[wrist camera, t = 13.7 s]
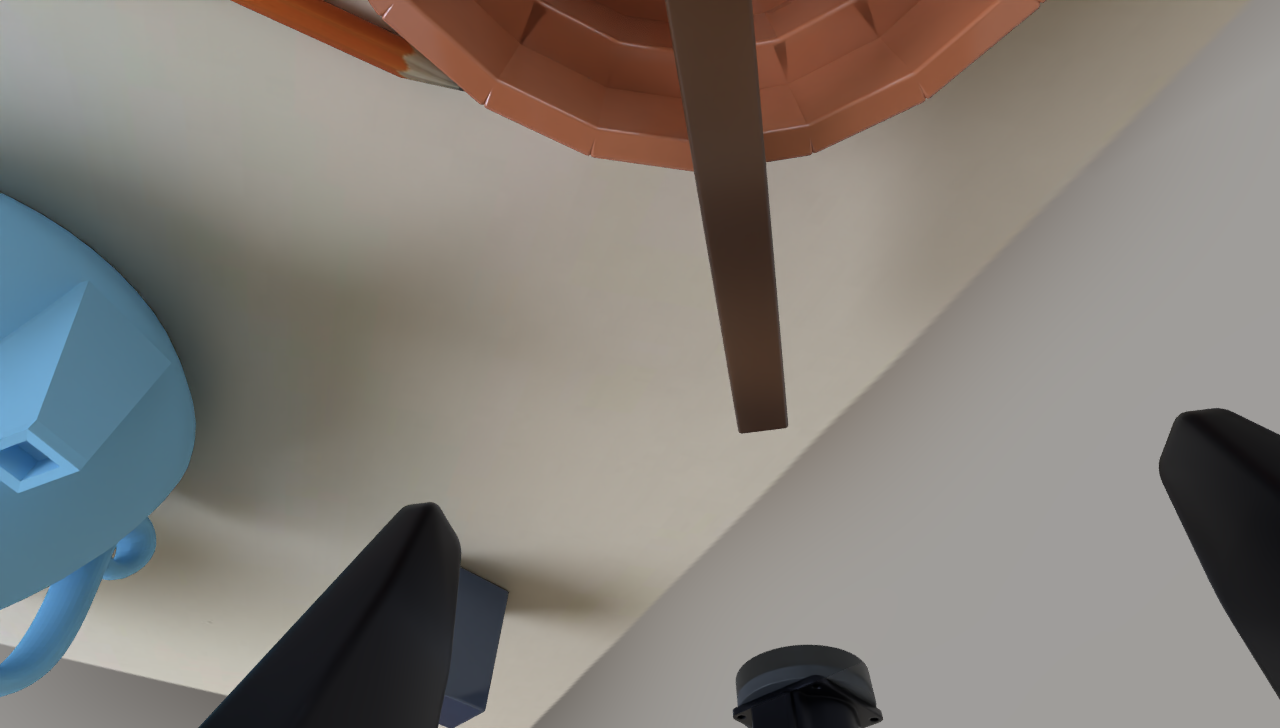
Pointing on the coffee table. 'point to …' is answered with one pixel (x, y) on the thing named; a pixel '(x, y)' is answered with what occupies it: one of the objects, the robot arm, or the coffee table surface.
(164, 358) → the teapot
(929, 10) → the bowl
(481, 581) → the slate blue rectangular block
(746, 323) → the brown round-ended long piece
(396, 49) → the pencil
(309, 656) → the robot arm
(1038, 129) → the coffee table surface
